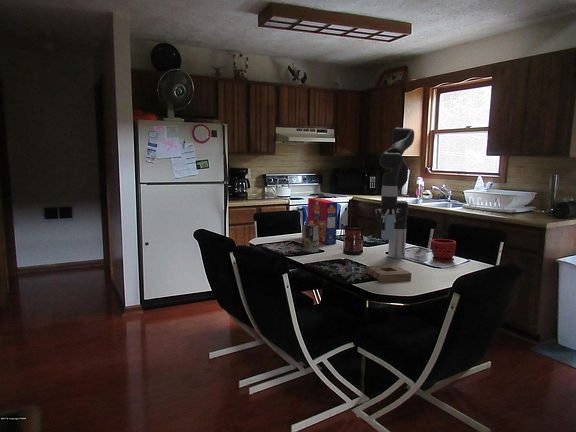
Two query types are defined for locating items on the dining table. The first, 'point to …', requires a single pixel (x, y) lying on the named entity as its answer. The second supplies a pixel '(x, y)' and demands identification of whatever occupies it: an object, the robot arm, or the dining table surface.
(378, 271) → the socket block
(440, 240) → the plant pot
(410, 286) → the dining table surface
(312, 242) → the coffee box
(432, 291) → the dining table surface
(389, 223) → the peg
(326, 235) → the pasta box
